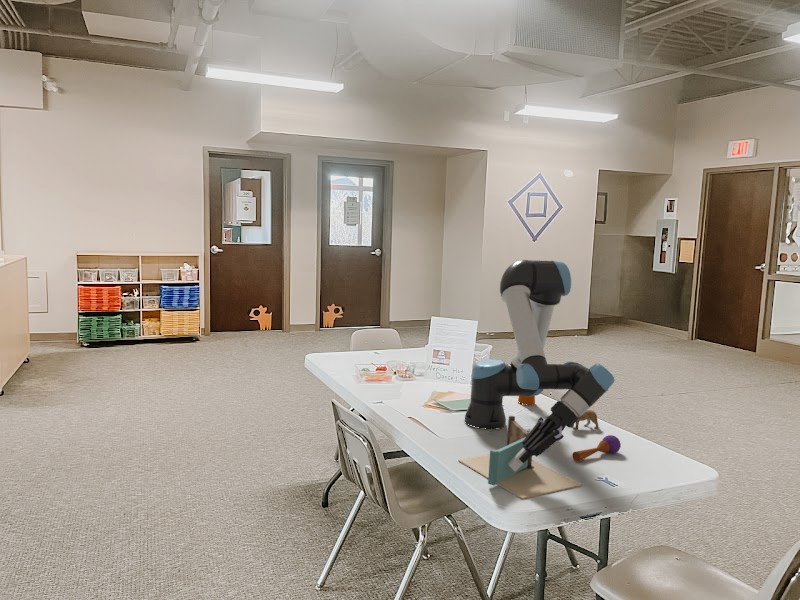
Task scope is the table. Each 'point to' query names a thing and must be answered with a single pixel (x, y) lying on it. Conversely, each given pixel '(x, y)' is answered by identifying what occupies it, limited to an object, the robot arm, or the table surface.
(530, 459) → the fence frame
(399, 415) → the table surface
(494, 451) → the fence gate
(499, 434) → the table surface
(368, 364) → the table surface
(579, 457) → the purple and orange maraca
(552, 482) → the mat
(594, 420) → the lion figurine
